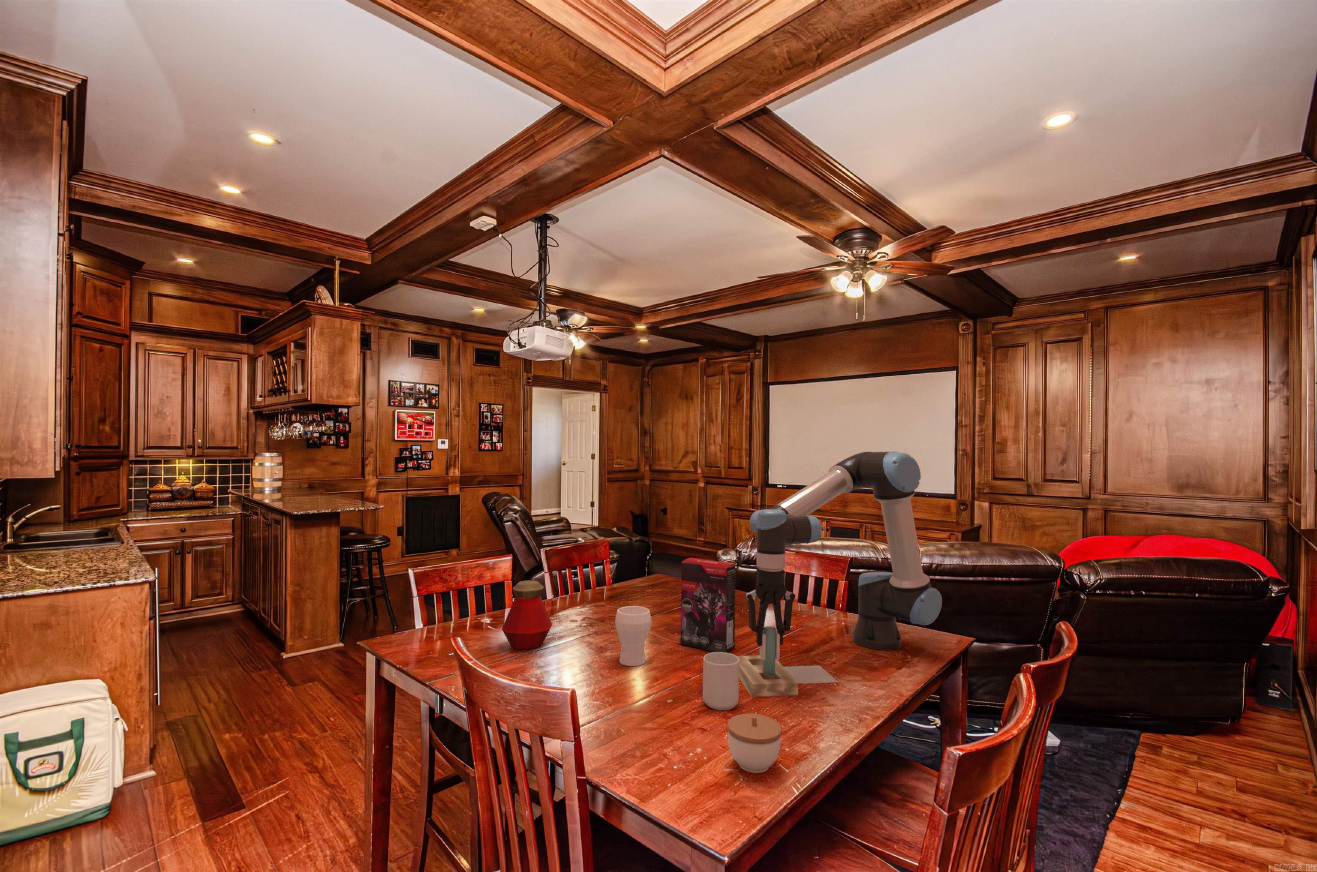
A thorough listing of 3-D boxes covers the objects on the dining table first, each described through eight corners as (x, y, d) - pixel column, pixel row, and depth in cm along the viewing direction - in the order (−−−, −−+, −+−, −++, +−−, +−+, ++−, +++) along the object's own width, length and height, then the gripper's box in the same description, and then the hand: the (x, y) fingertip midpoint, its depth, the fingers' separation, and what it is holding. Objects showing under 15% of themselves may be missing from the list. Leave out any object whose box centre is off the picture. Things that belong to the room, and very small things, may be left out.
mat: (819, 666, 168) (819, 665, 168) (837, 683, 156) (837, 681, 156) (780, 668, 166) (780, 666, 166) (795, 684, 154) (795, 683, 154)
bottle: (549, 636, 190) (550, 576, 191) (554, 650, 177) (556, 585, 178) (500, 641, 185) (501, 578, 186) (502, 655, 173) (504, 588, 173)
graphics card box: (678, 644, 185) (679, 559, 185) (689, 639, 191) (690, 556, 191) (726, 656, 175) (727, 566, 176) (736, 649, 181) (737, 563, 182)
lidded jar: (720, 772, 112) (721, 723, 112) (733, 746, 122) (734, 701, 122) (776, 785, 108) (776, 734, 108) (784, 756, 118) (785, 710, 118)
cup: (657, 661, 170) (658, 610, 170) (632, 671, 162) (633, 617, 162) (632, 652, 177) (633, 603, 177) (607, 661, 169) (608, 610, 170)
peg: (773, 671, 153) (773, 626, 154) (777, 676, 150) (777, 629, 150) (761, 671, 153) (762, 626, 153) (765, 676, 150) (765, 630, 150)
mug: (732, 714, 136) (733, 667, 137) (697, 707, 140) (698, 661, 140) (746, 695, 147) (746, 651, 148) (713, 688, 151) (713, 646, 151)
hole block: (772, 667, 167) (772, 654, 167) (798, 696, 147) (798, 682, 147) (732, 668, 165) (732, 656, 165) (752, 698, 146) (752, 684, 146)
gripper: (794, 565, 157) (793, 651, 156) (737, 565, 155) (735, 653, 154) (805, 571, 149) (804, 661, 149) (745, 571, 147) (743, 663, 147)
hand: (769, 657), depth 151 cm, fingers closed on peg, 3 cm apart
